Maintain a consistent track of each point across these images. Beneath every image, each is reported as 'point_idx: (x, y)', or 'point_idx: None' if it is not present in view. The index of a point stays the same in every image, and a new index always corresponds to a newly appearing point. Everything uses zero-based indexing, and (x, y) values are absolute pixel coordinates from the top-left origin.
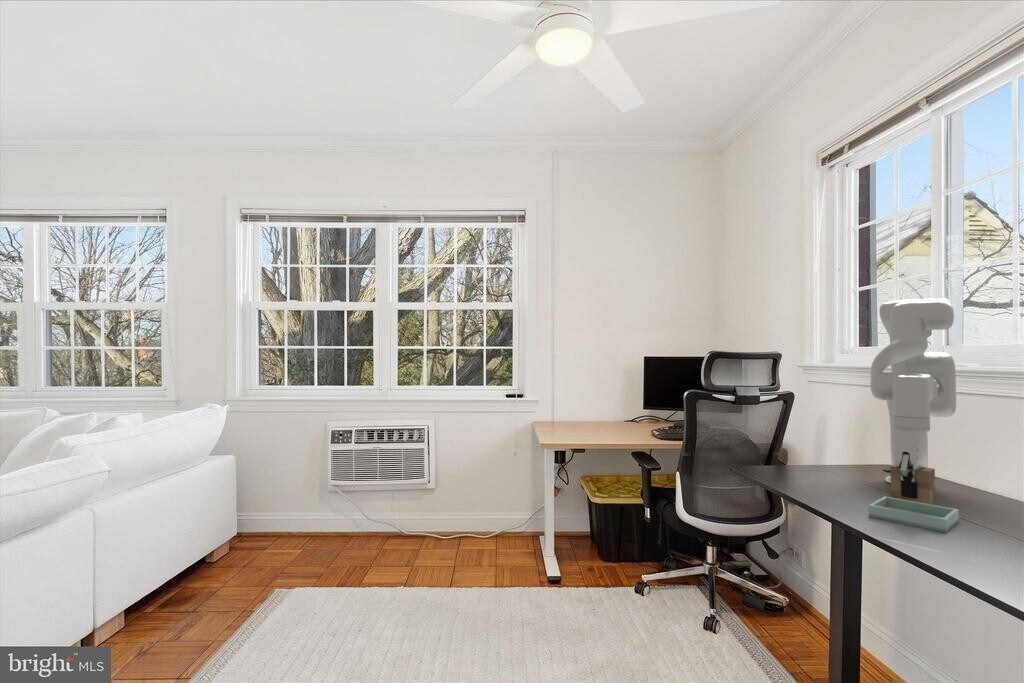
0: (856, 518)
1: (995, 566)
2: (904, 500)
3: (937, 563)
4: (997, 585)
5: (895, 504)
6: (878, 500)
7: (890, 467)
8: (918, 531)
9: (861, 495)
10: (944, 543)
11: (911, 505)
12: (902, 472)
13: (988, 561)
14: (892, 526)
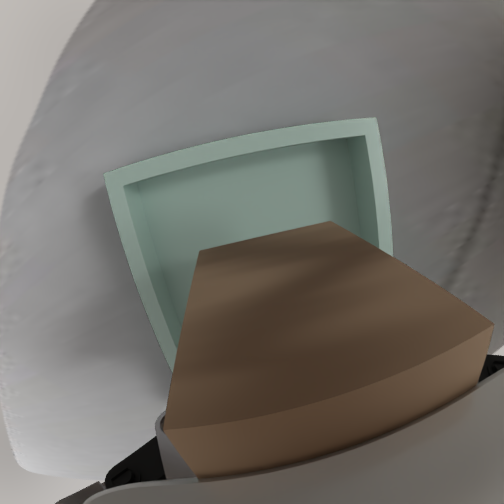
0: (72, 158)
1: (96, 468)
2: (378, 215)
3: (16, 420)
4: (41, 466)
5: (357, 173)
6: (253, 140)
7: (168, 412)
8: (139, 350)
9: (432, 15)
10: (114, 413)
11: (370, 241)
12: (77, 499)
13: (106, 463)
14: (104, 284)
